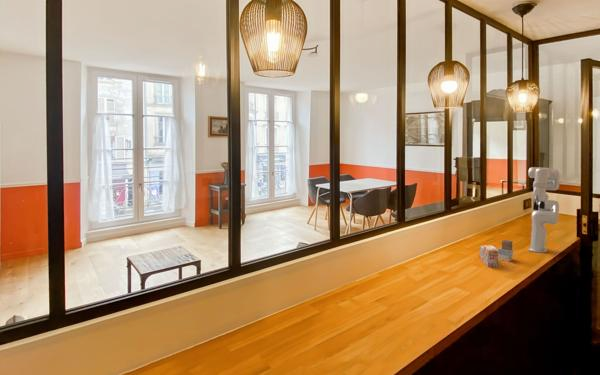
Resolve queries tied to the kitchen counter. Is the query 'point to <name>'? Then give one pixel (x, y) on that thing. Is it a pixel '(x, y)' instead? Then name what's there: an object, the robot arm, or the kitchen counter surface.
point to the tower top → (505, 252)
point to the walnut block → (507, 245)
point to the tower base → (505, 257)
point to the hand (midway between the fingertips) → (538, 209)
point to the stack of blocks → (489, 255)
